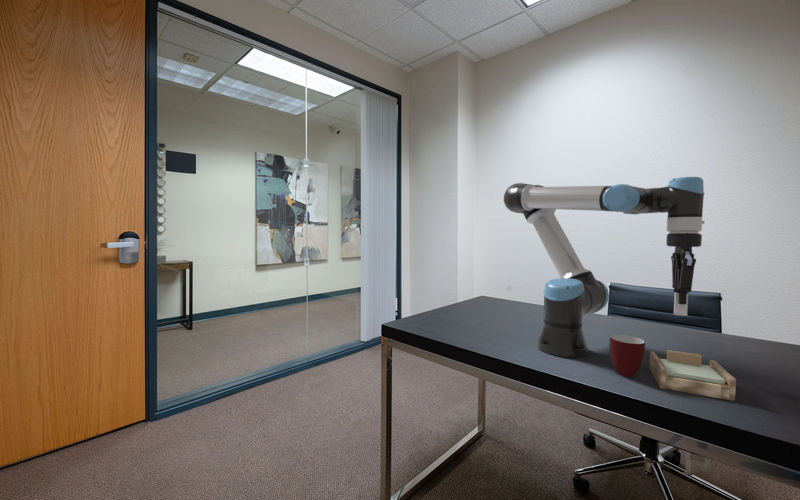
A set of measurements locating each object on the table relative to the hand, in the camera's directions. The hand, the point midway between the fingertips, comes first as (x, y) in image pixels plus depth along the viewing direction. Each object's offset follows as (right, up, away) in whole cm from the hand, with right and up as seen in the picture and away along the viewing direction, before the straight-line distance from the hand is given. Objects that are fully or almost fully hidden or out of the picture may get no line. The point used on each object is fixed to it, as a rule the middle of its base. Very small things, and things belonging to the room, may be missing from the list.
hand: (680, 314), depth 94 cm
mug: (-17, -16, -2) cm, 24 cm away
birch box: (-5, -16, -8) cm, 19 cm away
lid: (-5, -13, -8) cm, 17 cm away
